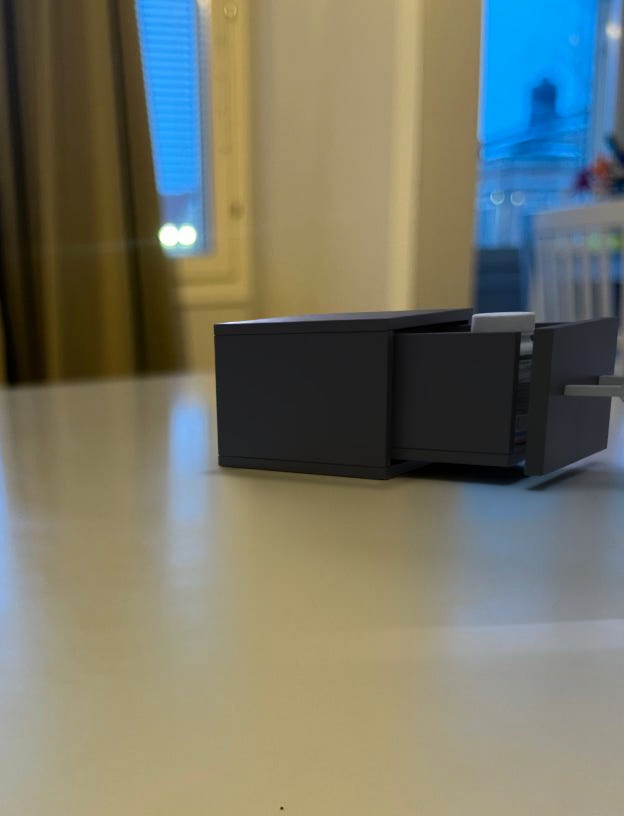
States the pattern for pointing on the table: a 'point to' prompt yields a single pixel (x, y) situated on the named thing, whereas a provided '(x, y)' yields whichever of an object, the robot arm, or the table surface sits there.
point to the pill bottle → (526, 326)
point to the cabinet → (313, 391)
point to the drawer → (503, 394)
